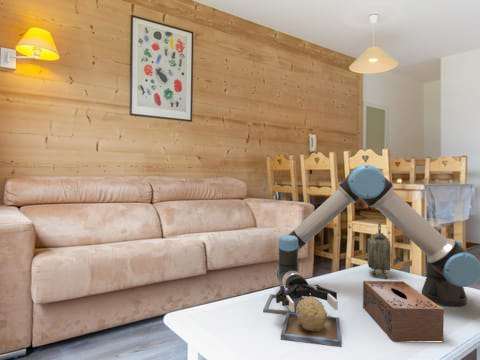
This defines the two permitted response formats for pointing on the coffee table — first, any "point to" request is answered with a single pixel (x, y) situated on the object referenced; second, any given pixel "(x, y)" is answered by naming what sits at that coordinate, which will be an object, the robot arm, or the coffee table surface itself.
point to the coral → (311, 314)
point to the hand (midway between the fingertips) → (314, 306)
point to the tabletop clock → (379, 252)
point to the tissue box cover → (403, 311)
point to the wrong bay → (275, 309)
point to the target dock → (325, 336)
